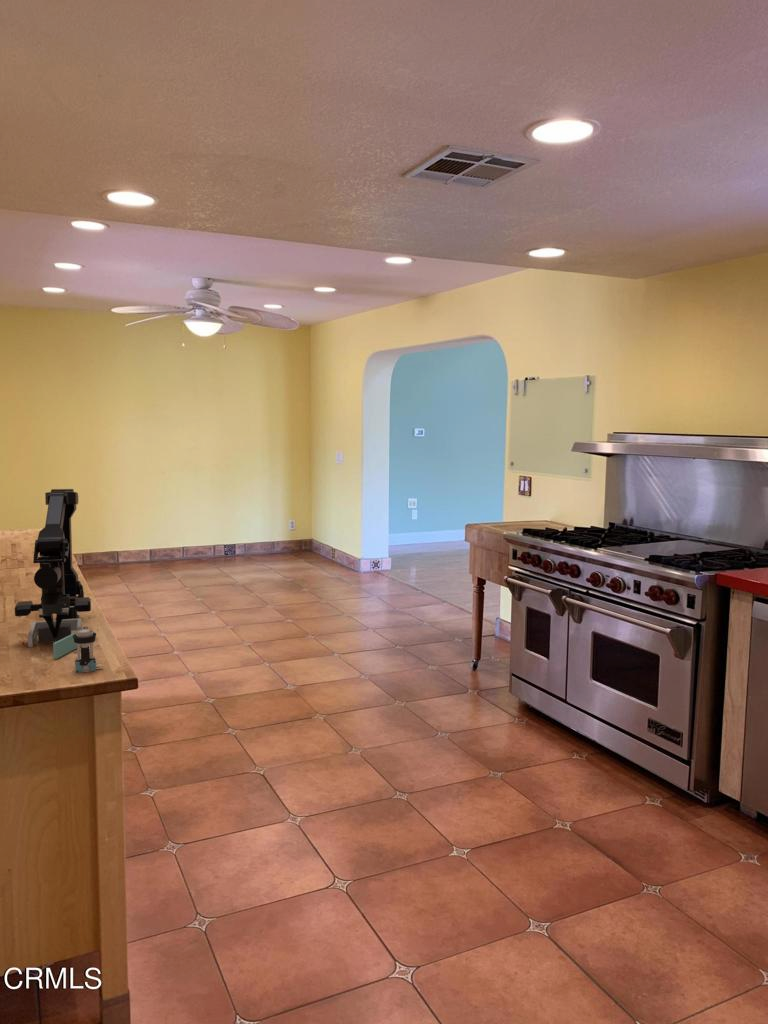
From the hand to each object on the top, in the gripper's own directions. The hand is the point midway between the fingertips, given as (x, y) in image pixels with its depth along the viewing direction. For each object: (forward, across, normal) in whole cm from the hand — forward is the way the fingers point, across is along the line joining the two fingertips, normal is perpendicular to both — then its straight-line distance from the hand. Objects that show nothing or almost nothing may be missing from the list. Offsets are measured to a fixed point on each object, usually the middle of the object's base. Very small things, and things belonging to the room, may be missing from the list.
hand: (55, 637), depth 208 cm
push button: (+2, +9, -27) cm, 28 cm away
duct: (+2, +1, +4) cm, 5 cm away
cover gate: (+1, +4, -10) cm, 11 cm away
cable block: (+2, 0, +4) cm, 4 cm away
